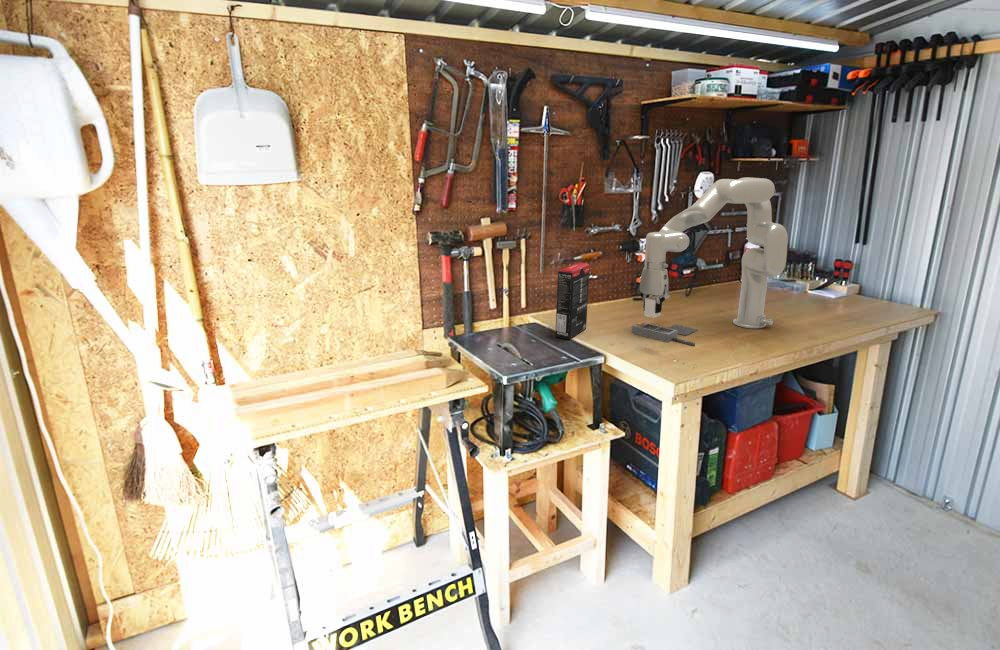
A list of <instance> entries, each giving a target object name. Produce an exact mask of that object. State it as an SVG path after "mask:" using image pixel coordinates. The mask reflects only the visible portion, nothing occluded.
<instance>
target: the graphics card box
mask: <svg viewBox="0 0 1000 650" xmlns="http://www.w3.org/2000/svg"><path fill="white" fill-rule="evenodd" d="M590 269H591V268H590V263H585V262H577V263H574V264H572V265H569V266H567V267H564V268H562V269H559V270H557V285H556V286H557V288H556V289H557V291H556V293H557V294H556V314H555V338H560V339H565V340H571V339H573V338H575V337H576V336H577V335H578V334H581V332H583V331H585V330H586V329H587V321H588V319H587V318H588V304H589V303H588V302H589V284H590V281H589V280H590Z"/></svg>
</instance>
